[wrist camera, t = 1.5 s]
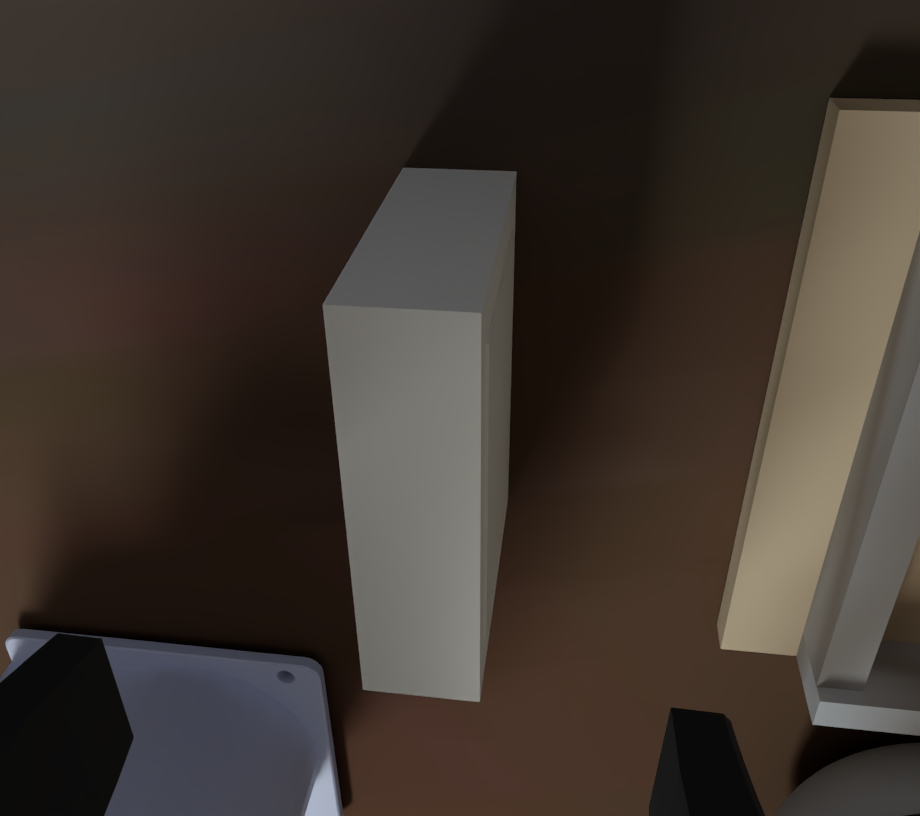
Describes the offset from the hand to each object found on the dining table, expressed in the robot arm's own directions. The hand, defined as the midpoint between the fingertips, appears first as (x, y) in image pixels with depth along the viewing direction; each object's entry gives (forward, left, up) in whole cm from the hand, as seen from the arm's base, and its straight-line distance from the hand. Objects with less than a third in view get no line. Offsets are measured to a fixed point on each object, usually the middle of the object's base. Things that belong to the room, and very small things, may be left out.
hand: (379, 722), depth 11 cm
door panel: (0, 0, -10) cm, 10 cm away
